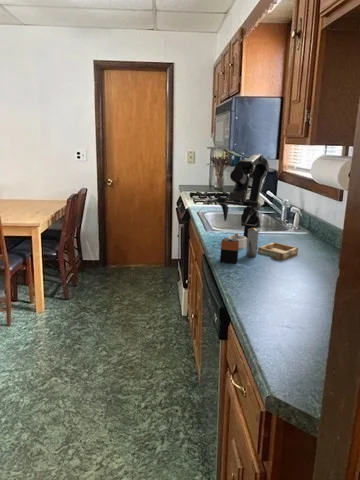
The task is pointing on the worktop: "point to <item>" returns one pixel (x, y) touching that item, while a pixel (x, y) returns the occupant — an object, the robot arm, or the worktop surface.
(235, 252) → the battery
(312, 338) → the worktop surface
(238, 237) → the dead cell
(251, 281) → the worktop surface
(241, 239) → the cup
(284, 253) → the wooden tray
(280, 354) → the worktop surface
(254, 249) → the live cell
